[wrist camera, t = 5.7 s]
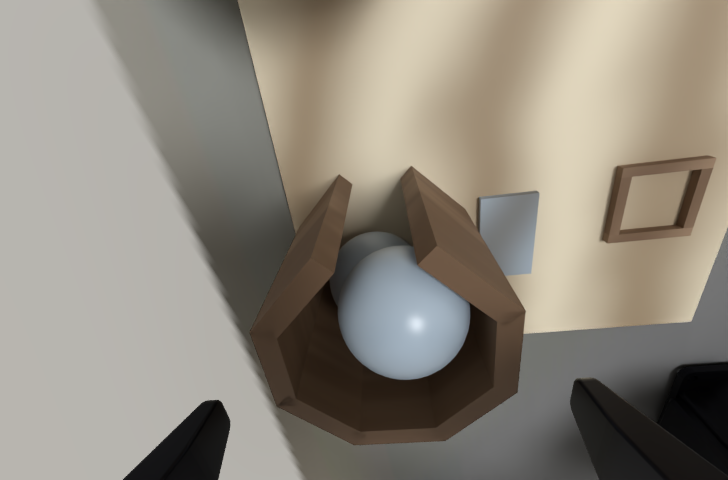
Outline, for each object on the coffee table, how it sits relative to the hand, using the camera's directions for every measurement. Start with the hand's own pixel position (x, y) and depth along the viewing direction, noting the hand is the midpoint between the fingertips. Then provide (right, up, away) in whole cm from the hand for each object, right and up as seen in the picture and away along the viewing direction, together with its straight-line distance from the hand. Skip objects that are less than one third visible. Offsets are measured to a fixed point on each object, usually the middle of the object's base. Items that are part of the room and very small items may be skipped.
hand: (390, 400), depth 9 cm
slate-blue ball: (0, +1, +3) cm, 4 cm away
